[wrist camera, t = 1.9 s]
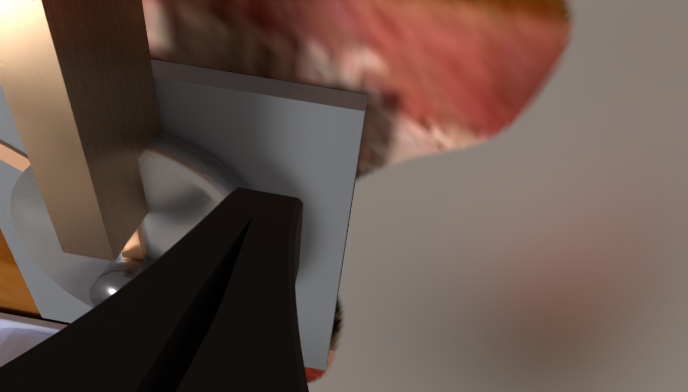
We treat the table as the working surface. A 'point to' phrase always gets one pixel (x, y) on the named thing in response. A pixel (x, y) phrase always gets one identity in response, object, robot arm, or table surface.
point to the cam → (97, 145)
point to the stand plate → (242, 174)
